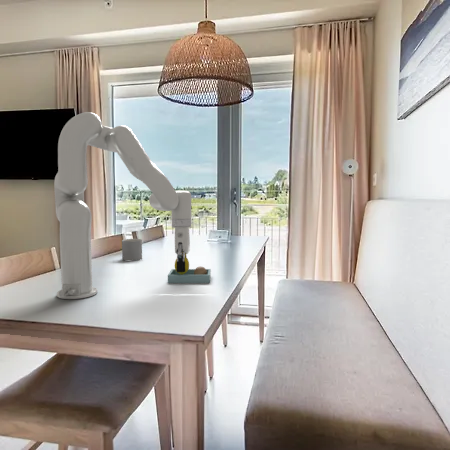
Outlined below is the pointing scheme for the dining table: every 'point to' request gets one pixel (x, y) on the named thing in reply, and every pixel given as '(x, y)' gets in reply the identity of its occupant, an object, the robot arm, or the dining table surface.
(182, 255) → the lemon
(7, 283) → the dining table surface
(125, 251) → the coffee mug
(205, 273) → the walnut ball
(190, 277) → the trough
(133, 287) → the dining table surface
